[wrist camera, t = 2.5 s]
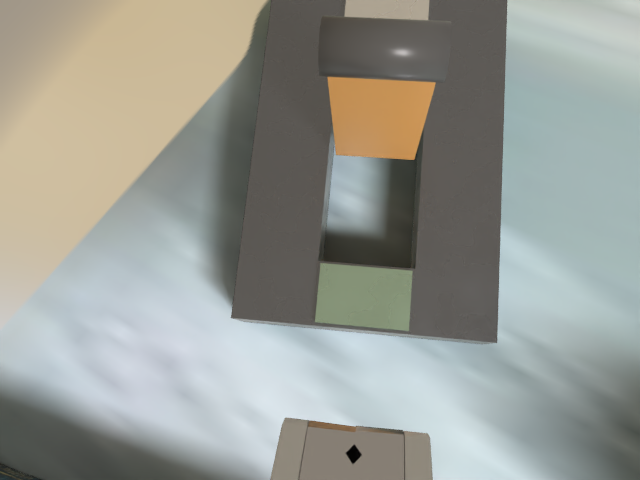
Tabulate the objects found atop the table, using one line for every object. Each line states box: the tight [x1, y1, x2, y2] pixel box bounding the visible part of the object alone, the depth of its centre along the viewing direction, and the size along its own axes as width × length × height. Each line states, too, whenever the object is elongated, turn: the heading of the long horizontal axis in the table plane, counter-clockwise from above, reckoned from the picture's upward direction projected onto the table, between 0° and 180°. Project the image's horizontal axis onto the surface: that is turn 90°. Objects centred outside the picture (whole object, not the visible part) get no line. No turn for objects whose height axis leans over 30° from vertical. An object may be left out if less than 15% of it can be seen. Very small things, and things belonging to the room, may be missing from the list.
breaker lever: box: [318, 16, 452, 160], centre depth 29 cm, size 3×6×12 cm, turn 84°
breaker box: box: [231, 0, 507, 344], centre depth 37 cm, size 24×16×4 cm, turn 175°
